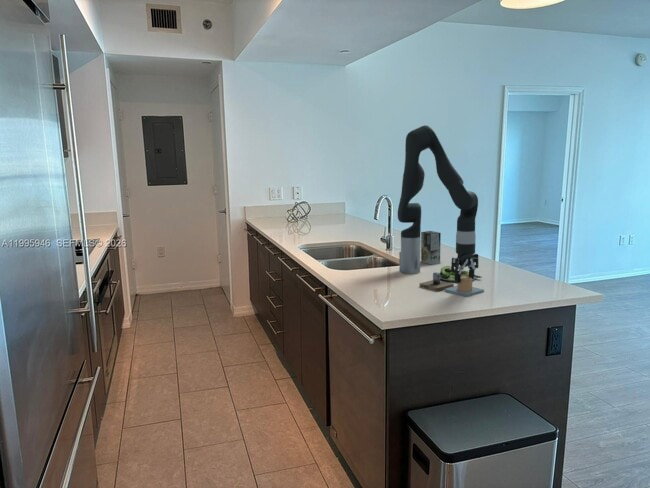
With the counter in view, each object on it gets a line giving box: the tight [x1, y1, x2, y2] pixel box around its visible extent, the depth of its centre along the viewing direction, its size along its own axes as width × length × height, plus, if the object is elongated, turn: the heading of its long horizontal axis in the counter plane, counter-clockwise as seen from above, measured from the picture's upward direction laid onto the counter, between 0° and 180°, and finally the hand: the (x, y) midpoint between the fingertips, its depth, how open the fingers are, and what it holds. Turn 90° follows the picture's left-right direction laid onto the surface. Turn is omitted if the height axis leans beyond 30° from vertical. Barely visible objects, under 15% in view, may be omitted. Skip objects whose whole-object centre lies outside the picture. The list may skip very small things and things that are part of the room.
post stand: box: [419, 272, 455, 292], centre depth 201 cm, size 10×10×6 cm
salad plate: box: [439, 265, 483, 284], centre depth 215 cm, size 19×18×5 cm
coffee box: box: [420, 230, 441, 265], centre depth 248 cm, size 9×6×16 cm
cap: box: [456, 276, 473, 291], centre depth 193 cm, size 6×6×5 cm
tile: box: [444, 285, 485, 298], centre depth 193 cm, size 11×11×1 cm
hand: (464, 280), depth 193 cm, fingers open, 8 cm apart
